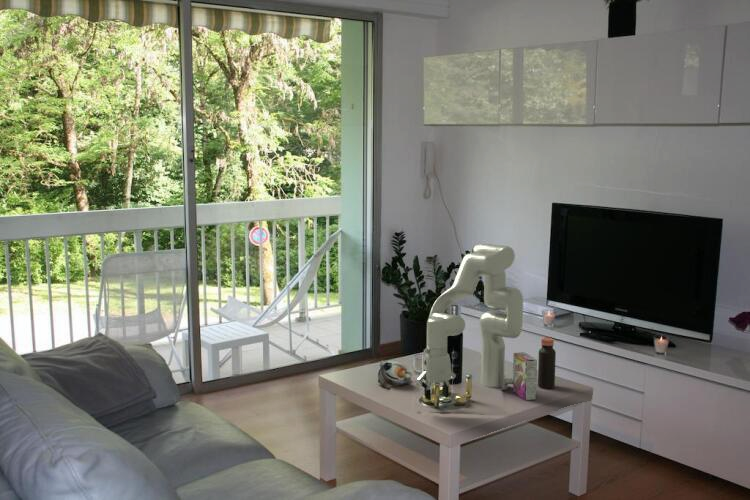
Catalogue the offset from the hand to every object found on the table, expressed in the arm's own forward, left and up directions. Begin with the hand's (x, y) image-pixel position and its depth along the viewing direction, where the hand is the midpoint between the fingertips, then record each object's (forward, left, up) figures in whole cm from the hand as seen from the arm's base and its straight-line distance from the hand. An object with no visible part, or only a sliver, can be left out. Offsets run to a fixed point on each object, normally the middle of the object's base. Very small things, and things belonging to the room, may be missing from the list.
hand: (436, 397), depth 291 cm
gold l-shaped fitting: (+2, -3, -4) cm, 5 cm away
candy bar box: (-34, -22, -6) cm, 41 cm away
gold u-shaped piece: (-1, -14, -4) cm, 15 cm away
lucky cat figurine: (+17, -30, -6) cm, 35 cm away
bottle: (-44, -35, -6) cm, 56 cm away
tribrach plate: (-3, -9, -6) cm, 11 cm away
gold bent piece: (-10, -7, -4) cm, 13 cm away
